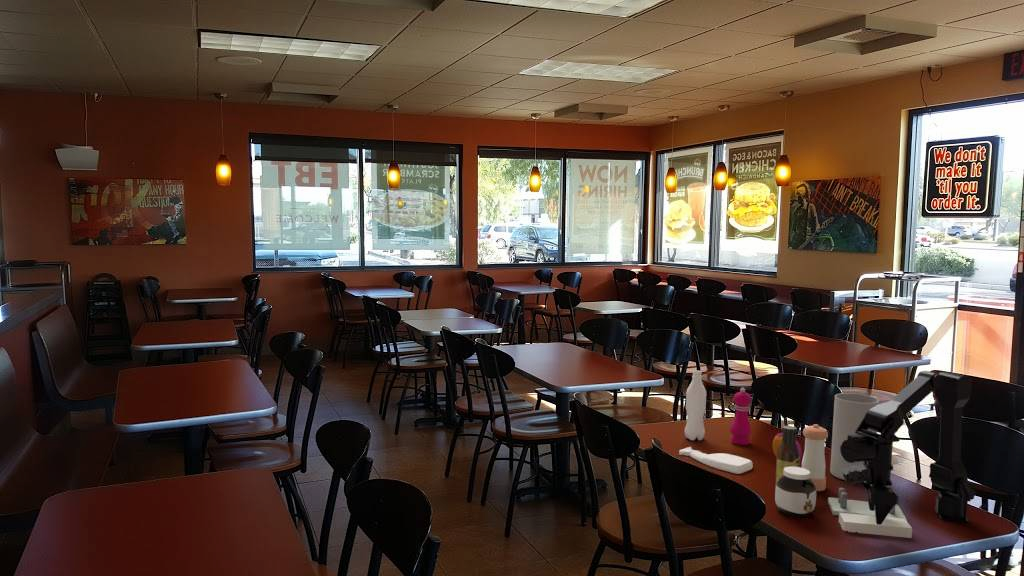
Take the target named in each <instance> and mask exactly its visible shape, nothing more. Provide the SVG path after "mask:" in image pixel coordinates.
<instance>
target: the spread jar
mask: <svg viewBox="0 0 1024 576" xmlns="http://www.w3.org/2000/svg"><path fill="white" fill-rule="evenodd" d="M783 474H784V475H783V476H782V477H780V478H779V480H778V481H777V484H776V483H775V493H774V500H775V505H776V506H777V508H778V509H779V510H780V511H781V512H782V513H783V514H785V515H788V516H790V517H796V518H797V517H798V518H803V517H807V516H808V515H810V514H811V513H812V512H813V511H814V510H815V507H816V503H817V491H816V486H815V484H814V483H813V481H812V480H811V479H810V471H809V470H807V469H804V468H802V467H801V466H799V467H785V468H784V472H783Z"/></svg>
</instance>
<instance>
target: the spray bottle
mask: <svg viewBox="0 0 1024 576" xmlns="http://www.w3.org/2000/svg"><path fill="white" fill-rule="evenodd" d="M678 451H679V453H678V454H679V456H687V457H690V458H692V459H693V460H695V461H697V462H699V463H701V464H703V465H705V466H708V467H711V468H715V469H717V470H720V471H721V470H722V471H724V472H729V473H732V474H736V475H740V474H741V475H742V474H743V473H746V472H748V471H751V470H752V469H753V467H754V465H753V464H754V463H753V461H752V460H751V459H748V458H745V457H743V456H742V457H741V456H739V455H733V454H731V453H721V452H720V453H719V452H718V453H710V454H707V453H706V452H702V451H701V450H697V449H696V450H695V449H693V448H692V446H688V447H685V448H683V449H682V448H681V449H679V450H678Z"/></svg>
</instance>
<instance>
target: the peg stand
mask: <svg viewBox="0 0 1024 576" xmlns="http://www.w3.org/2000/svg"><path fill="white" fill-rule="evenodd" d="M827 504H828V505H830V506H829V508H830V511H831V513H832V515H833V516H839V513H848V514H858V515H869V516H875V510H874V511H871V510H870V509H869V504H868V501H864V500H856V499H855V500H854V499H849V498H848V493H847V492H846V488H844V487H839V488H838V497H828V498H827ZM887 517H891V518H902V519H905V520H906V521H907V518H906V516H905V514H904V513H903V511H902V509H901V507H900V506H899V505H898V504H896V505H895V506H894V507H893V508H892V509H891V511H890V512H889V514H888V515H887ZM907 522H908V521H907Z"/></svg>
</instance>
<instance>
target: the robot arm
mask: <svg viewBox="0 0 1024 576" xmlns="http://www.w3.org/2000/svg"><path fill="white" fill-rule="evenodd" d="M972 389H973V383H972V380H971V379H970V378H969V377H968V376H967V375H963V374H962V375H961V374H957V373H953V372H950V371H941V372H939V373H937V372H933V371H928V370H921V371H920V372H918V373H917V376H916V377H915V378H914V379H913V380H912V381H910V383H908V384H907V385H906V386H905V387H904V388H903V389H901V390H900V391H899V392H898V393H897V394H896V395H894V396H893V398H891V399H890V400H888V401H885V402H882V403H879V404H878V405H876V406H874V407H873V408H871V409H870V410H868V412H867V413H866V414H865V417H864V418H863V420H862V422H861V423H860V425H859V426H858V428H857V429H856V431H855V433H856V434H859V435H848V437H847V440H845V441H843V443H842V445H841V446H840V451H841V455H842V457H843V458H844V460H845V461H847V462H849V463H854V462H862V461H864V463H863V464H862V465H855V466H850V467H846V468H842V469H841V470H842V473H843V476H844V479H845V480H844V481H845V485H847V486H854V484H859V483H860V484H861V485H862V487H864V489H865V491H866V497H867V502H868V504H869V509H870V510H871V511H874V510H875V517H876V523H877V524H880V525H881V524H882V523H883V521H884V520H885V518H886V517H887V515H888V514H889V512H890V511H891V509H892V508H893V507H894V506H895V505H898V504H899V494H897V492H896V491H895V490H894V489H893V487H892V486H893V481H892V479H891V475H892V474H891V473H892V471H894V466H893V464H892V460H893V459H892V458H893V447H894V446H893V445H894V443H899V442H900V441H901V440H900V438H899V437H898V436H897V435H896V433H897V432H898V431H899V430H900V429H901V428H902V426H903V425H904V422H905V421H904V420H905V416H907V415H908V413H909V412H910V411H912V410H913V409H914V408H916V406H917V405H918V404H920V403H921V402H922V401H923V400H924V399H925V398H926V397H928V396H929V395H930V394H931V393H932V392H934V395H935V397H936V399H937V401H938V402H939V404H940V423H939V424H940V426H939V427H940V428H939V448H938V450H939V454H938V457H937V459H936V460H935V462H931V463H930V464H929V475H928V478H930V482H931V485H932V488H933V489H932V490H933V491H935V492H938V496H936V497H935V508H934V512H935V513H936V514H937V515H938V516H939V518H940V519H941V520H945V521H951V522H952V521H954V522H962V523H969V519H968V518H967V516H968V513H967V512H968V502H971V501H972V500H974V499H975V496H976V494H977V492H976V490H975V489H974V488H973V486H972V485H971V483H970V482H969V480H968V479H969V478H968V470H967V468H966V467H965V465H964V464H963V461H962V460H961V459H962V457H961V456H962V436H963V410H964V407H965V405H966V404H967V403H968V402H969V400H970V399H971V397H972V396H971V394H972ZM867 429H870V430H873V431H876V432H877V433H875V432H872V431H869V430H867Z"/></svg>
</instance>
